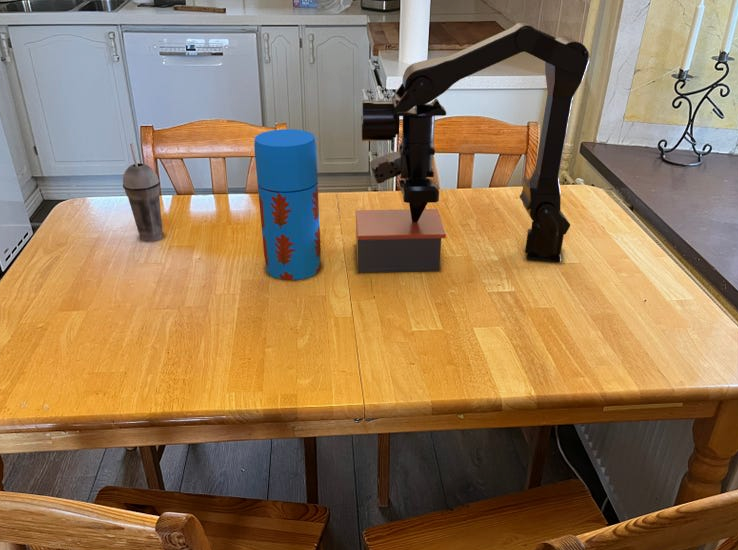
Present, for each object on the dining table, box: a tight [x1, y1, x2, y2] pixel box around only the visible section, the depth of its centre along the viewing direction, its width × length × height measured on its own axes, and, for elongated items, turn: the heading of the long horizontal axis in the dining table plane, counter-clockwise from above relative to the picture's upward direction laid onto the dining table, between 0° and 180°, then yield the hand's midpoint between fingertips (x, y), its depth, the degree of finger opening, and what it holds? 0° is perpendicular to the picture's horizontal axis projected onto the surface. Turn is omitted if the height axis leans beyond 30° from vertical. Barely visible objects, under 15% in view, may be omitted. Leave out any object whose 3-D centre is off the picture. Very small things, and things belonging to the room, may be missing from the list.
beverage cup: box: [122, 142, 163, 242], centre depth 140 cm, size 7×7×20 cm
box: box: [355, 221, 442, 274], centre depth 135 cm, size 16×13×7 cm
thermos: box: [253, 128, 322, 281], centre depth 126 cm, size 11×11×25 cm
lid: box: [355, 208, 447, 240], centre depth 133 cm, size 16×13×1 cm
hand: (414, 221), depth 133 cm, fingers closed
